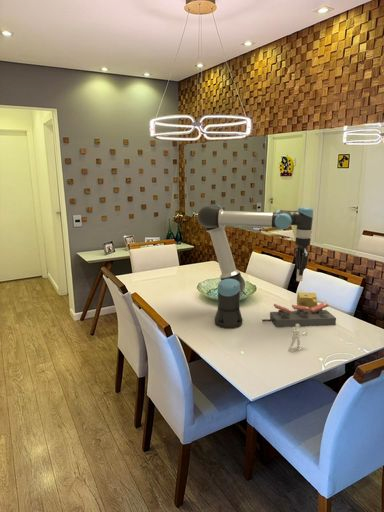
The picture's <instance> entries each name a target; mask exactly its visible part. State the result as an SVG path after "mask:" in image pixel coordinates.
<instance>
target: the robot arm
mask: <svg viewBox="0 0 384 512" xmlns="http://www.w3.org/2000/svg"><path fill="white" fill-rule="evenodd" d="M196 216H197V217H196V218H197V222H198V223H199V224H200V225H201V226H202V227H203V228H204V229H205V231H206V233H209V236H210V239H211V243H212V245H213V249H214V253H215V256H216V259H217V263H218V265H219V269H220V271H221V274H220V276H219V279H220V281H219V282H218V283H217V311H216V313H215V315H214V316H215V317H214V325H215V326H217V327H218V328H222V329H229V330H230V329H237V328H240V327H242V325H244V323H243V317H242V313H241V310H240V306H241V302H240V301H241V300H240V299H241V295H242V294H243V293H244V291H245V288H246V282H245V279H244V277H243V276H242V274H241V271H240V270H239V269H237V268H236V264H235V261H234V257H233V254H232V253H233V252H232V250H231V247H230V246H231V245H230V244H229V240H228V237H227V233H226V230H225V228H226V227H243V228H244V227H245V228H247V227H248V228H270V229H271V228H272V229H273V228H274V229H279V230H286V229H288V228H289V227H290V226H296V229H295V240H294V241H295V245H296V246H297V247H295V249H294V250H295V267H296V269H297V270H296V279H295V280H296V282H303V275H304V270H306V268H307V263H308V257H309V256H310V252H308V247H309V246H310V245H311V237H312V233H313V231H312V228H313V220H314V209H313V208H312V207H309V206H306V207H305V206H301V207H298V208H297V210H284V209H283V210H282V209H279V210H278V209H276V210H274V211H273V212H269V211H268V212H265V211H264V212H263V211H262V212H261V211H233V210H224V209H223V207H222V206H220V205H219V204H216V203H211V204H208V205H205V206H202V207H201V208H200V209H199V210H198V212H197V215H196Z"/></svg>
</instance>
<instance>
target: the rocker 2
mask: <svg viewBox="0 0 384 512" xmlns="http://www.w3.org/2000/svg"><path fill="white" fill-rule="evenodd" d="M291 307H292V309H293V310H297V309H298V310H301V311H303V310H306V311H310V310H311V309H310V308H309V307H307V306H298V305H297V304H291Z"/></svg>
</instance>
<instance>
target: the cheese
mask: <svg viewBox="0 0 384 512" xmlns="http://www.w3.org/2000/svg"><path fill="white" fill-rule="evenodd" d="M296 305H298V306H307V307H309V308H312V307H314V306H317V305H318V298H317V293H316V292H300V291H298V292H297V296H296ZM303 311H306V310H303Z"/></svg>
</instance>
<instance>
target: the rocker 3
mask: <svg viewBox="0 0 384 512" xmlns="http://www.w3.org/2000/svg"><path fill="white" fill-rule="evenodd" d="M328 307H329V304H328V303H327V302H326V301H324V302H322V303H319V304H317V306H314V307H312V308H310V309H311V311H312V312H316V311H318V310H320V311H322V310H324V309H325V308H328Z"/></svg>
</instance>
